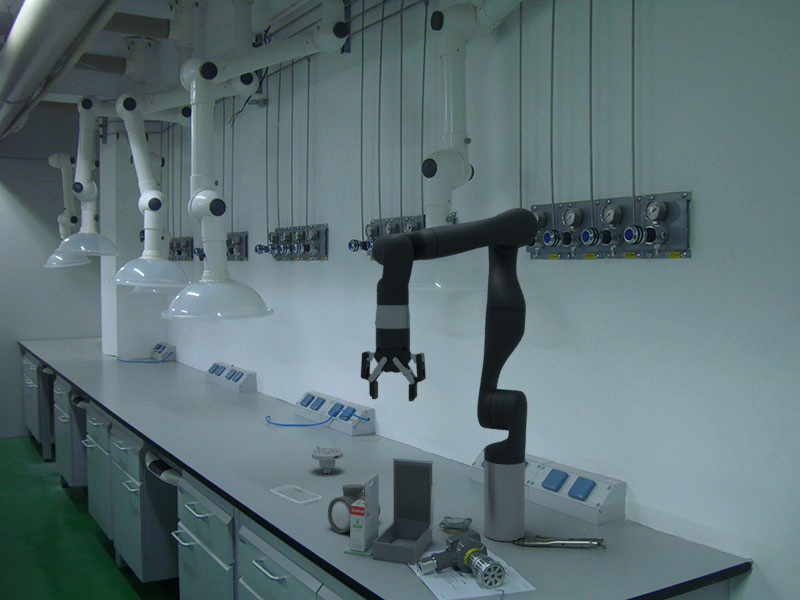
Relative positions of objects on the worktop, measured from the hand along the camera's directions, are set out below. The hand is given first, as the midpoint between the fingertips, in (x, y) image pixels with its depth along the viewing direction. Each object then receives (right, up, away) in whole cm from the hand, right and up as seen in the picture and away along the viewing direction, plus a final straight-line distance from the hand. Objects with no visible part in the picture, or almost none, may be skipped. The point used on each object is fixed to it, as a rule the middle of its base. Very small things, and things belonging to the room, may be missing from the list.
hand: (393, 399), depth 148 cm
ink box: (-6, -32, 0) cm, 32 cm away
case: (+3, -32, -2) cm, 32 cm away
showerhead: (-21, -31, +58) cm, 68 cm away
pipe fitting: (-9, -32, +12) cm, 35 cm away
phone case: (-27, -32, +35) cm, 54 cm away
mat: (-6, -32, 0) cm, 33 cm away
